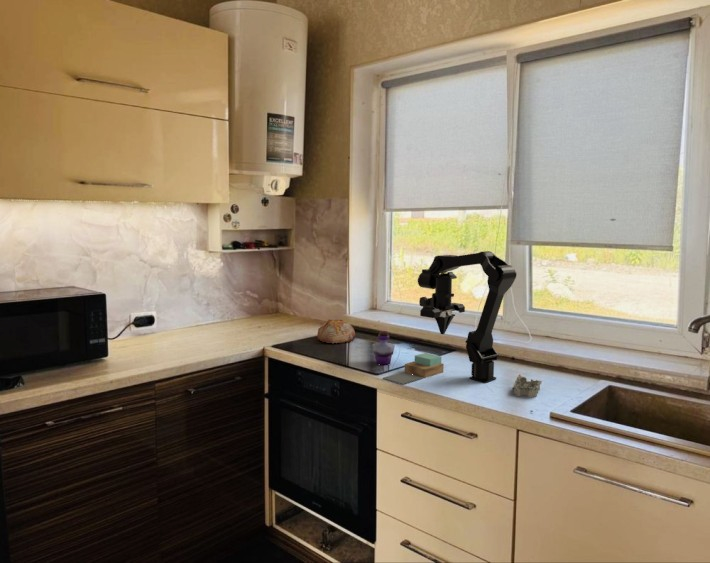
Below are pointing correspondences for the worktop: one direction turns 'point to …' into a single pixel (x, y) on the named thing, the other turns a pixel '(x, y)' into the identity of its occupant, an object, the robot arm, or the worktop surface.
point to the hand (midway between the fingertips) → (442, 334)
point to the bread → (336, 332)
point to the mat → (402, 378)
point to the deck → (423, 369)
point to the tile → (427, 359)
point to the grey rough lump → (526, 387)
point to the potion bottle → (383, 349)
